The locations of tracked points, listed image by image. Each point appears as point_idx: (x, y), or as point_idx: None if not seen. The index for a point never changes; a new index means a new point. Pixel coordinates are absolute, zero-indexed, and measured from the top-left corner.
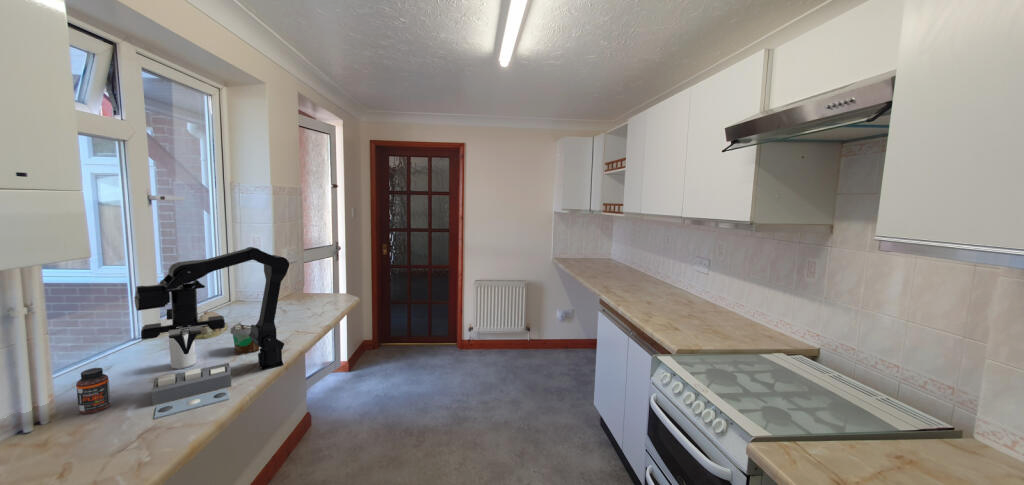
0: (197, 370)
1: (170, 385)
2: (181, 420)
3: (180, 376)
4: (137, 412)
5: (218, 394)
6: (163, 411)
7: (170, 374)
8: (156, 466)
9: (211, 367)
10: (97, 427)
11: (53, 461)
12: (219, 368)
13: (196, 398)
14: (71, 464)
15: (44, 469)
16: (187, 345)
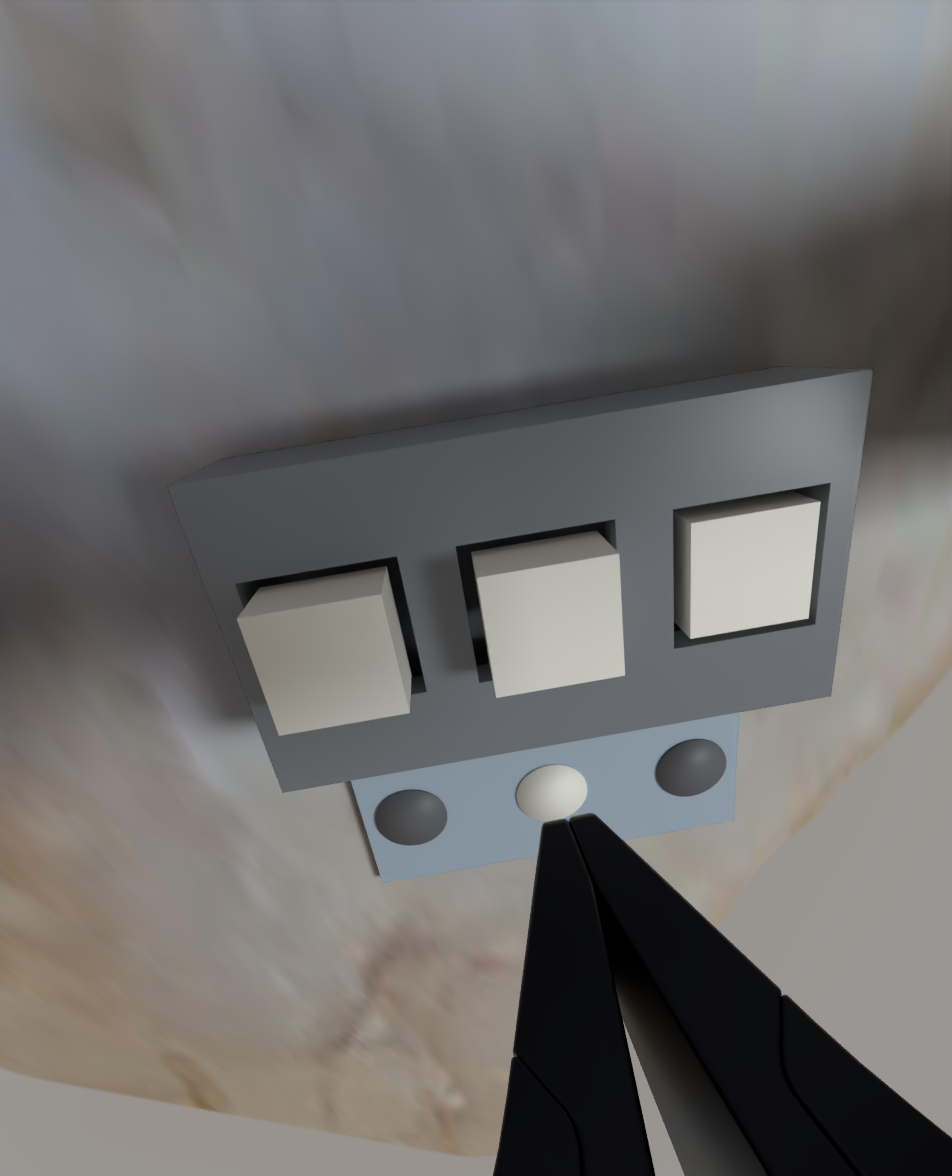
0: (594, 614)
1: (391, 723)
2: (517, 924)
3: (424, 552)
4: (250, 770)
5: (684, 756)
6: (409, 841)
7: (341, 602)
8: (495, 1134)
9: (697, 433)
10: (107, 855)
11: (104, 1038)
12: (770, 531)
13: (561, 752)
14: (195, 1068)
15: (109, 1069)
16: (681, 1142)
